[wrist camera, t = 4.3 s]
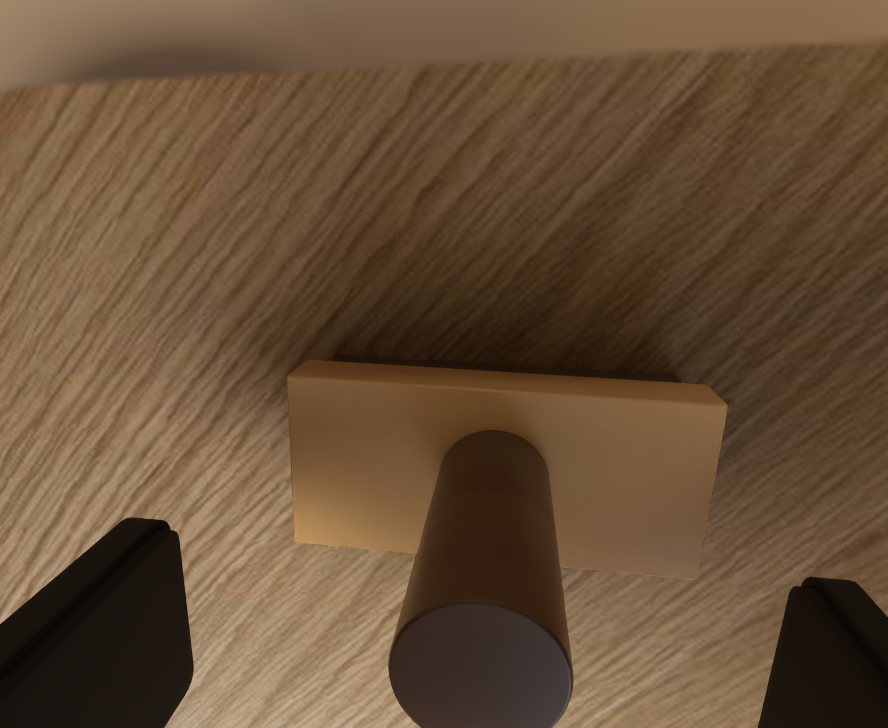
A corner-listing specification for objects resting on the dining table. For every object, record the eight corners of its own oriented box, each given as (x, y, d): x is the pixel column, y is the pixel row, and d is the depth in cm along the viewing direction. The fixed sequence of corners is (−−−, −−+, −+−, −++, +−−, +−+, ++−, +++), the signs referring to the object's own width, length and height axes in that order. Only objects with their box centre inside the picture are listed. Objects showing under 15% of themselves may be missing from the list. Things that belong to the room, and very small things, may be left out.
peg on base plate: (325, 344, 17) (122, 505, 8) (690, 366, 16) (904, 576, 7) (329, 487, 18) (157, 757, 9) (666, 516, 17) (824, 849, 8)
